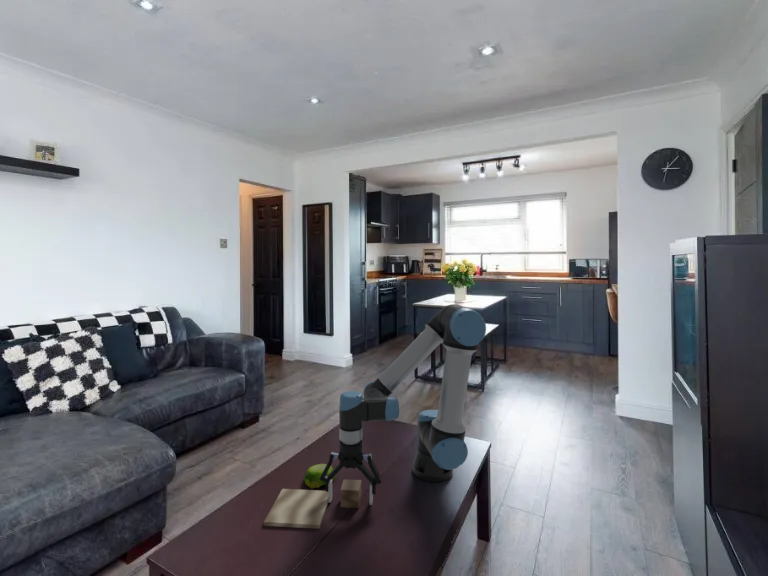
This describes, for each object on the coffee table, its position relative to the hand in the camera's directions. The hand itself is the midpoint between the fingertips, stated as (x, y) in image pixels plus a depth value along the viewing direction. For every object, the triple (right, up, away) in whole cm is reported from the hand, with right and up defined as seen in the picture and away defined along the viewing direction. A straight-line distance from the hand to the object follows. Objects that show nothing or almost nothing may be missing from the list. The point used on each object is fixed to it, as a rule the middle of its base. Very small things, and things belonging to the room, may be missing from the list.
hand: (350, 501), depth 129 cm
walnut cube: (0, 0, 0) cm, 0 cm away
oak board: (-16, 0, -4) cm, 17 cm away
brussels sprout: (-12, 0, +13) cm, 18 cm away
